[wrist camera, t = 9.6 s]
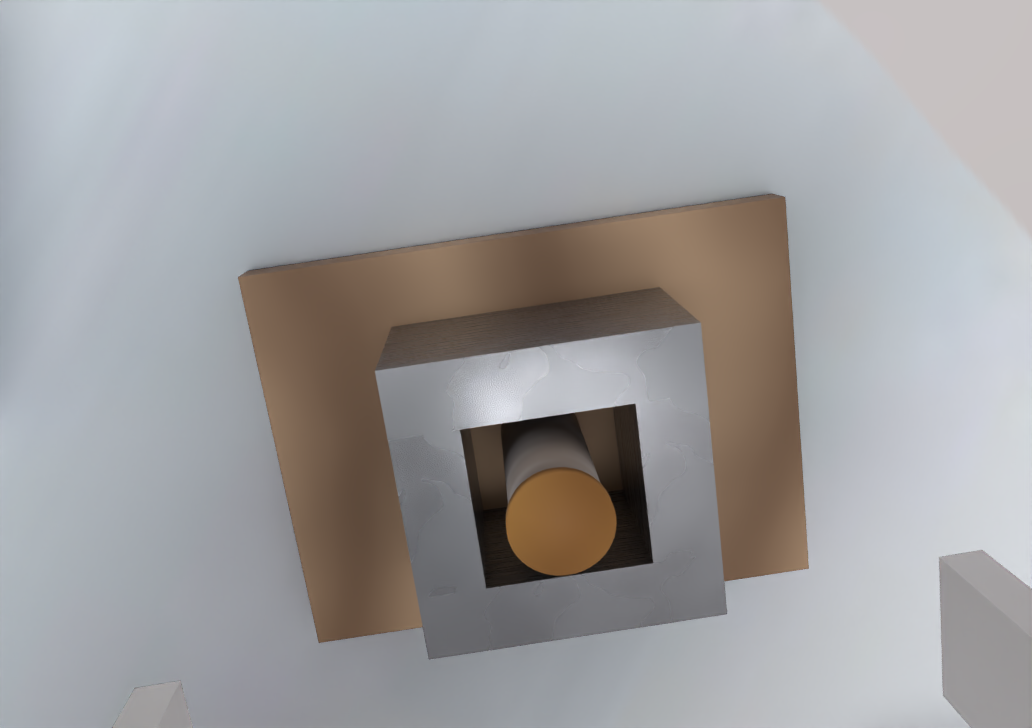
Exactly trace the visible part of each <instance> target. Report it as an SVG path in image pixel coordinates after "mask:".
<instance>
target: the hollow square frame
mask: <svg viewBox="0 0 1032 728" xmlns="http://www.w3.org/2000/svg"><path fill="white" fill-rule="evenodd" d="M375 374H376V380H377V385H378V390H379V396H380V401H381V407H382V412H383V417H384V423H385V428H386V433H387V439H388V444H389V449H390V455H391V460H392V465H393V471H394V476H395V481H396V487H397V492H398V497H399V503H400V508H401V513H402V519H403V524H404V529H405V535H406V540H407V546H408V551H409V556H410V562H411V567H412V572H413V578H414V583H415V588H416V594H417V599H418V604H419V610H420V615H421V620H422V626H423V631H424V636H425V642H426V647H427V652H428V658H429V659H435V658H442V657H448V656H455V655H462V654H468V653H475V652H481V651H488V650H494V649H501V648H508V647H514V646H521V645H527V644H534V643H540V642H547V641H554V640H560V639H567V638H573V637H580V636H586V635H593V634H600V633H606V632H613V631H619V630H626V629H632V628H639V627H646V626H652V625H659V624H665V623H672V622H678V621H685V620H692V619H698V618H705V617H711V616H718V615H724V614H727V608H726V596H725V585H724V574H723V563H722V552H721V541H720V530H719V519H718V507H717V496H716V485H715V474H714V463H713V452H712V441H711V430H710V419H709V407H708V396H707V385H706V374H705V363H704V352H703V341H702V330H701V322H700V321H698V320H697V319H696V318H695V317H694V316H693V315H691V314H690V313H689V312H688V311H687V310H686V309H685V308H683V307H682V306H681V305H680V304H679V303H678V302H676V301H675V300H674V299H673V298H672V297H671V296H669V295H668V294H667V293H666V292H665V291H664V290H663V289H661V288H660V287H657V288H650V289H643V290H637V291H630V292H623V293H616V294H610V295H603V296H596V297H589V298H582V299H576V300H569V301H562V302H555V303H549V304H542V305H535V306H528V307H522V308H515V309H508V310H501V311H494V312H488V313H481V314H474V315H467V316H461V317H454V318H447V319H440V320H434V321H427V322H420V323H413V324H407V325H400V326H393V327H391V330H390V332H389V335H388V338H387V340H386V343H385V346H384V348H383V351H382V353H381V356H380V359H379V361H378V364H377V367H376V369H375ZM609 407H613V414H614V422H615V431H616V439H617V447H618V456H619V464H620V473H621V481H622V489H621V490H614V491H608V494H609V496H610V498H611V501H612V503H613V506H614V509H615V513H616V522H617V525H616V533H615V537H614V539H613V542H612V544H611V546H610V548H609V550H608V551H607V552H606V554H605V555H604V556H603V557H602V558H601V559H600V560H599V561H598V562H597V563H596V564H594V565H593V566H591V567H590V568H588V569H586V570H584V571H581V572H579V573H576V574H571V575H563V576H555V575H548V574H544V573H540V572H538V571H536V570H533V569H532V568H530V567H528V566H527V565H526V564H524V563H523V562H522V561H521V560H520V559H519V558H518V557H517V556H516V554H515V553H514V551H513V550H512V548H511V546H510V543H509V541H508V537H507V531H506V510H507V507H501V508H494V509H488V510H483V505H482V499H481V493H480V487H479V481H478V475H477V468H476V462H475V456H474V450H473V444H472V437H471V431H470V428H475V427H481V426H488V425H495V424H501V423H508V422H515V421H521V420H528V419H535V418H542V417H548V416H555V415H562V414H568V413H575V412H582V411H588V410H595V409H602V408H609Z"/></svg>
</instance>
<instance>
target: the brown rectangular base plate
mask: <svg viewBox="0 0 1032 728" xmlns="http://www.w3.org/2000/svg"><path fill="white" fill-rule="evenodd" d="M238 279H239V284H240V288H241V293H242V298H243V302H244V307H245V311H246V316H247V320H248V325H249V329H250V334H251V338H252V343H253V347H254V352H255V356H256V361H257V365H258V370H259V374H260V379H261V383H262V388H263V392H264V397H265V401H266V406H267V411H268V415H269V420H270V424H271V429H272V433H273V438H274V442H275V447H276V451H277V456H278V460H279V465H280V469H281V474H282V478H283V483H284V487H285V492H286V496H287V501H288V505H289V510H290V514H291V519H292V524H293V528H294V533H295V537H296V542H297V546H298V551H299V555H300V560H301V564H302V569H303V573H304V578H305V582H306V587H307V591H308V596H309V600H310V605H311V609H312V614H313V618H314V623H315V627H316V632H317V637H318V641H319V643H321V642H328V641H334V640H341V639H347V638H354V637H361V636H367V635H374V634H380V633H387V632H394V631H400V630H407V629H413V628H420V627H423V626H422V620H421V615H420V610H419V604H418V599H417V594H416V588H415V583H414V578H413V572H412V567H411V562H410V556H409V551H408V546H407V540H406V535H405V529H404V524H403V519H402V513H401V508H400V503H399V497H398V492H397V487H396V481H395V476H394V471H393V465H392V460H391V455H390V449H389V444H388V439H387V433H386V428H385V423H384V417H383V412H382V407H381V401H380V396H379V390H378V385H377V380H376V374H375V369H376V367H377V364H378V361H379V359H380V356H381V353H382V351H383V348H384V346H385V343H386V340H387V338H388V335H389V332H390V330H391V327H393V326H400V325H407V324H413V323H420V322H427V321H434V320H440V319H447V318H454V317H461V316H467V315H474V314H481V313H488V312H494V311H501V310H508V309H515V308H522V307H528V306H535V305H542V304H549V303H555V302H562V301H569V300H576V299H582V298H589V297H596V296H603V295H610V294H616V293H623V292H630V291H637V290H643V289H650V288H657V287H660V288H661V289H663V290H664V291H665V292H666V293H667V294H668V295H669V296H671V297H672V298H673V299H674V300H675V301H676V302H678V303H679V304H680V305H681V306H682V307H683V308H685V309H686V310H687V311H688V312H689V313H690V314H691V315H693V316H694V317H695V318H696V319H697V320H698V321H700V322H701V330H702V341H703V352H704V363H705V374H706V385H707V396H708V407H709V419H710V430H711V441H712V452H713V463H714V474H715V485H716V496H717V507H718V519H719V530H720V541H721V552H722V563H723V574H724V581H730V580H736V579H743V578H749V577H756V576H763V575H769V574H776V573H782V572H789V571H795V570H802V569H809V566H808V550H807V534H806V518H805V502H804V487H803V471H802V455H801V439H800V423H799V408H798V392H797V376H796V360H795V345H794V329H793V313H792V297H791V281H790V266H789V250H788V234H787V218H786V202H785V197H783V196H779V195H775V194H768V195H761V196H754V197H747V198H740V199H734V200H727V201H720V202H713V203H706V204H700V205H693V206H686V207H679V208H672V209H665V210H659V211H652V212H645V213H638V214H631V215H625V216H618V217H611V218H604V219H597V220H591V221H584V222H577V223H570V224H563V225H557V226H550V227H543V228H536V229H529V230H522V231H516V232H509V233H502V234H495V235H488V236H482V237H475V238H468V239H461V240H454V241H448V242H441V243H434V244H427V245H420V246H414V247H407V248H400V249H393V250H386V251H379V252H373V253H366V254H359V255H352V256H345V257H339V258H332V259H325V260H318V261H311V262H305V263H298V264H291V265H284V266H277V267H270V268H264V269H257V270H250V271H247V272H245V273H244V274H242V275H241V276H239V277H238ZM470 431H471V437H472V444H473V450H474V456H475V462H476V468H477V475H478V481H479V487H480V493H481V499H482V505H483V510H488V509H494V508H501V507H507V510H506V531H507V537H508V541H509V543H510V546H511V548H512V550H513V551H514V553H515V554H516V556H517V557H518V558H519V559H520V560H521V561H522V562H523V563H524V564H526V565H527V566H528V567H530V568H532V569H533V570H536V571H538V572H540V573H544V574H548V575H555V576H563V575H571V574H576V573H579V572H581V571H584V570H586V569H588V568H590V567H591V566H593V565H594V564H596V563H597V562H598V561H599V560H600V559H601V558H602V557H603V556H604V555H605V554H606V552H607V551H608V550H609V548H610V546H611V544H612V542H613V539H614V537H615V533H616V525H617V522H616V513H615V509H614V506H613V503H612V501H611V498H610V496H609V494H608V491H614V490H621V489H622V481H621V473H620V464H619V456H618V447H617V439H616V431H615V422H614V414H613V407H609V408H602V409H595V410H588V411H582V412H575V413H568V414H562V415H555V416H548V417H542V418H535V419H528V420H521V421H515V422H508V423H501V424H495V425H488V426H481V427H475V428H470Z"/></svg>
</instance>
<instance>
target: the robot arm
mask: <svg viewBox="0 0 1032 728" xmlns="http://www.w3.org/2000/svg"><path fill="white" fill-rule="evenodd" d="M939 570H940V608H941V645H942V683H943V696H944V697H945V698H946V700H947V701H948V702H949V703H950V704H951V705H952V706H953V708H954V709H955V710H956V711H957V712H958V713H959V714H960V716H961V717H962V718H963V719H964V720H965V721H966V722H967V724H968V725H969V726H970V727H971V728H1032V589H1031V588H1030V587H1029V586H1027V585H1026V584H1025V583H1024V582H1022V581H1021V580H1020V579H1018V578H1017V577H1016V576H1015V575H1013V574H1012V573H1011V572H1010V571H1008V570H1007V569H1006V568H1004V567H1003V566H1002V565H1001V564H999V563H998V562H997V561H996V560H994V559H993V558H992V557H990V556H989V555H988V554H987V553H985V552H984V551H983V550H979V551H973V552H967V553H961V554H955V555H948V556H942V557H939ZM112 728H193V726H192V722H191V719H190V715H189V711H188V707H187V704H186V700H185V696H184V692H183V688H182V685H181V681H174V682H168V683H162V684H156V685H150V686H144V687H138V688H135V689H134V690H133V692H132V694H131V696H130V697H129V699H128V701H127V703H126V704H125V706H124V708H123V710H122V711H121V713H120V715H119V717H118V718H117V720H116V722H115V724H114V725H113V727H112Z"/></svg>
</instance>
